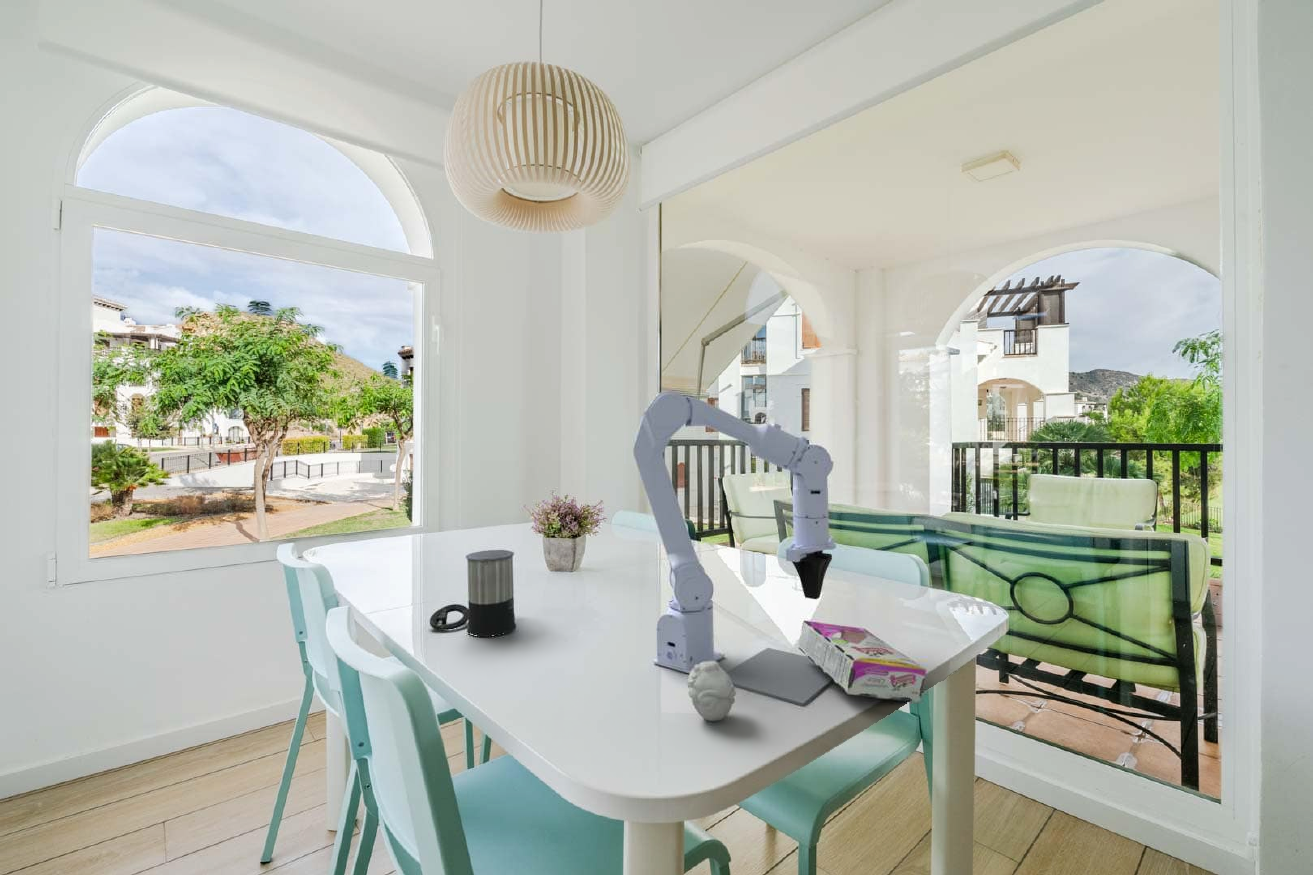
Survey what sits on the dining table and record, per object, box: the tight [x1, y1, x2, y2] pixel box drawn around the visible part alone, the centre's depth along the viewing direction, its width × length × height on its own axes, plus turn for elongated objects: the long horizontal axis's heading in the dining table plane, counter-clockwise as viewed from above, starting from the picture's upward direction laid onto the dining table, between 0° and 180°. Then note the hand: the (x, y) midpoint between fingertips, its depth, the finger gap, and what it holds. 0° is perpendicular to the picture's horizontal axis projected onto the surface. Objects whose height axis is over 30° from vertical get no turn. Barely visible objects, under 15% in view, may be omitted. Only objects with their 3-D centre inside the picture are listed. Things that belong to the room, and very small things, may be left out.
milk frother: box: [429, 549, 517, 637], centre depth 116 cm, size 14×16×15 cm
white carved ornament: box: [687, 661, 737, 722], centre depth 77 cm, size 6×7×7 cm
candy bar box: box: [797, 620, 927, 703], centre depth 87 cm, size 11×5×16 cm
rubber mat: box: [725, 647, 834, 707], centre depth 90 cm, size 16×14×1 cm
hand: (812, 597), depth 99 cm, fingers closed
